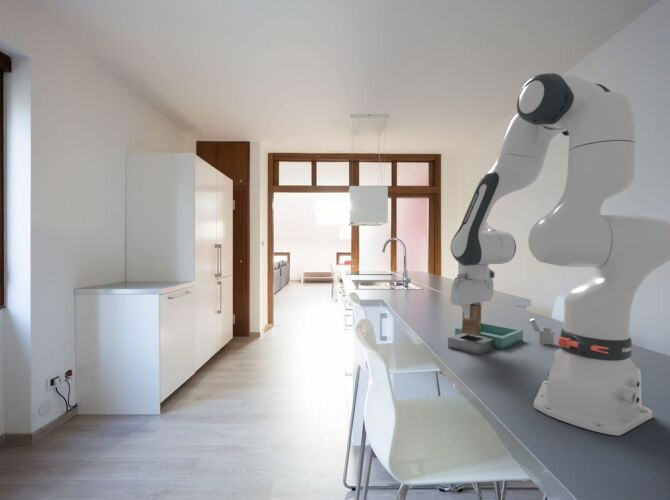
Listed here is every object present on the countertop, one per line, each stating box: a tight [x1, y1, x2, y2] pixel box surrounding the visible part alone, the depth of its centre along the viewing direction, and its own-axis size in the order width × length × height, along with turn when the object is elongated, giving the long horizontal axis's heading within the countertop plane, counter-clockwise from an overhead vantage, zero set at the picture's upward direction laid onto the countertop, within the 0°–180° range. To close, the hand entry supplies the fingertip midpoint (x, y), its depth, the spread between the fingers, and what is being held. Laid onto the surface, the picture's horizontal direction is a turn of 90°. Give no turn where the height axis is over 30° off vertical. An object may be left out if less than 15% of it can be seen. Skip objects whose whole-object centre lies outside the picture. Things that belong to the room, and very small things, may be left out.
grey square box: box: [447, 333, 495, 356], centre depth 110 cm, size 10×10×3 cm
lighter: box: [528, 317, 555, 346], centre depth 116 cm, size 7×2×8 cm, turn 71°
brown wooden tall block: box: [461, 303, 482, 336], centre depth 109 cm, size 4×4×10 cm
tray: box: [454, 321, 524, 350], centre depth 120 cm, size 16×16×4 cm
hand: (471, 317), depth 109 cm, fingers closed on brown wooden tall block, 4 cm apart
